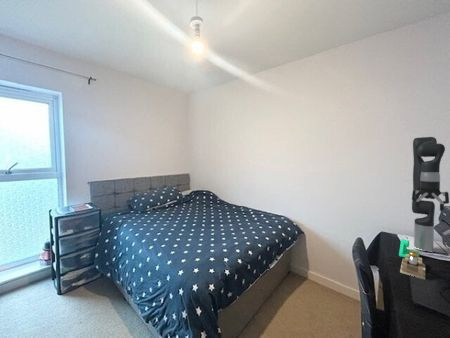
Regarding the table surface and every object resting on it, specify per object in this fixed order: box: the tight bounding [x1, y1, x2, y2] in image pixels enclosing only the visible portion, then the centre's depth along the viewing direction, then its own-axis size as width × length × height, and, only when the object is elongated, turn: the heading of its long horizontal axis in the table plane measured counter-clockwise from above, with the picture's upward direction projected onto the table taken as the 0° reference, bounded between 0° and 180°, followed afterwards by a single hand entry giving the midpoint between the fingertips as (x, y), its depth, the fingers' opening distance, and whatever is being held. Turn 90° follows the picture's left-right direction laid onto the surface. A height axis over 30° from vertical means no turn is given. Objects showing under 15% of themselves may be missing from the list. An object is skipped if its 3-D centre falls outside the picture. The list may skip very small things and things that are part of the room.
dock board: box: [399, 255, 426, 280], centre depth 111 cm, size 18×10×5 cm, turn 135°
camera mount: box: [398, 238, 420, 258], centre depth 126 cm, size 12×8×10 cm, turn 128°
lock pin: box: [409, 251, 418, 266], centre depth 108 cm, size 3×3×10 cm
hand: (429, 209), depth 111 cm, fingers open, 8 cm apart
